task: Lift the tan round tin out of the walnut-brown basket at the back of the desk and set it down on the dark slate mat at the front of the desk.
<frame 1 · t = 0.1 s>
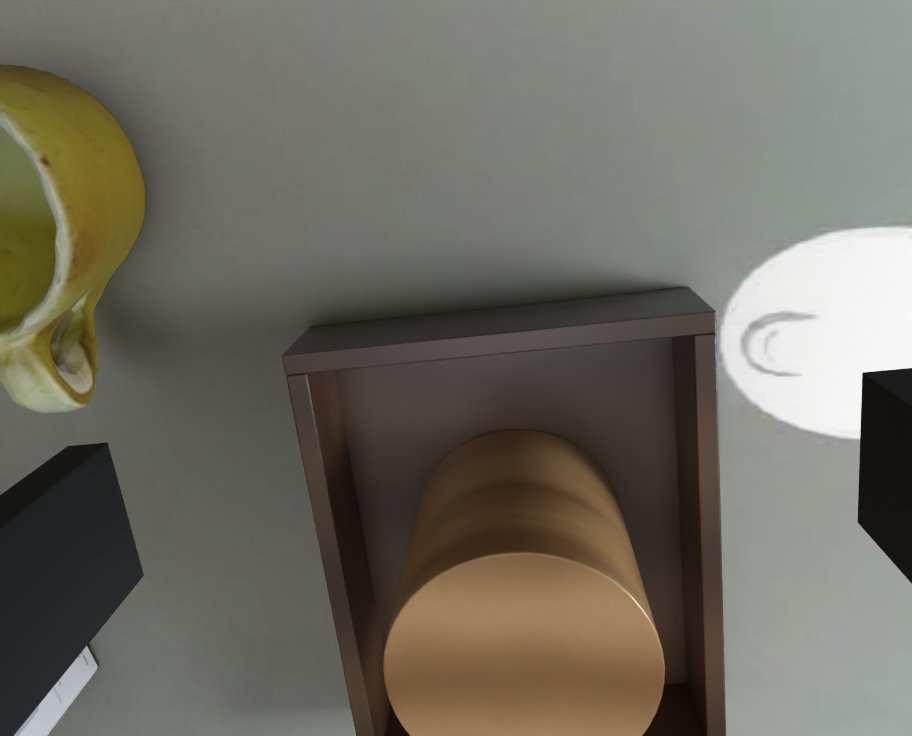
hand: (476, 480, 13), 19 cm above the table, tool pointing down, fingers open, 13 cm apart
ink box: (9, 647, 39), on the table
tan round tin: (518, 523, 34), resting on basket
mug: (73, 226, 32), on the table
basket: (518, 519, 35), on the table
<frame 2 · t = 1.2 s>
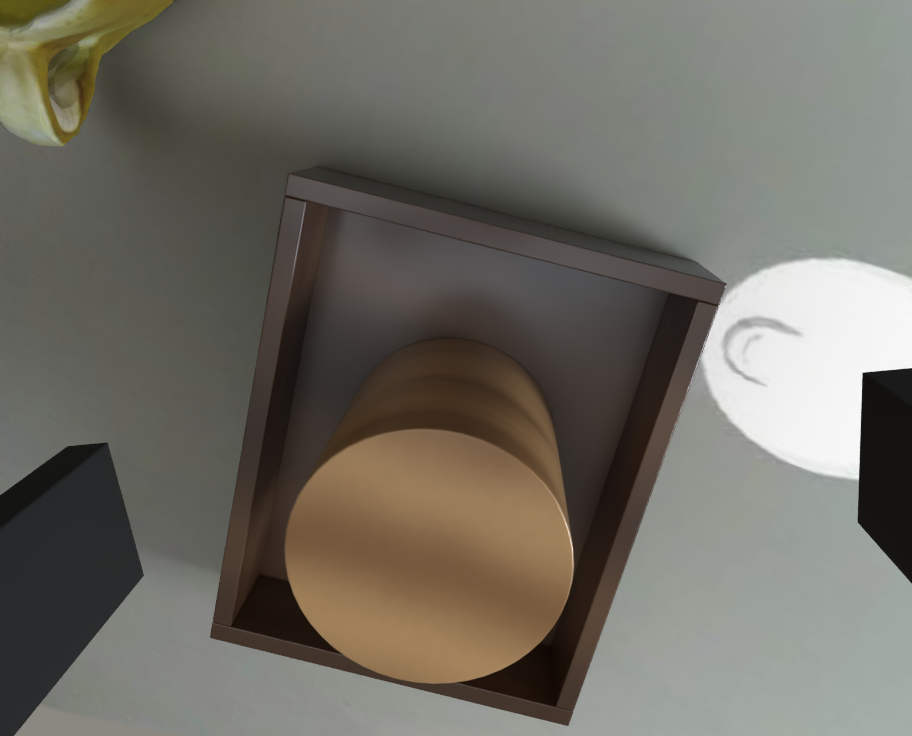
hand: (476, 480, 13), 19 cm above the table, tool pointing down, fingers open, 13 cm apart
tan round tin: (450, 438, 33), resting on basket
basket: (450, 435, 34), on the table
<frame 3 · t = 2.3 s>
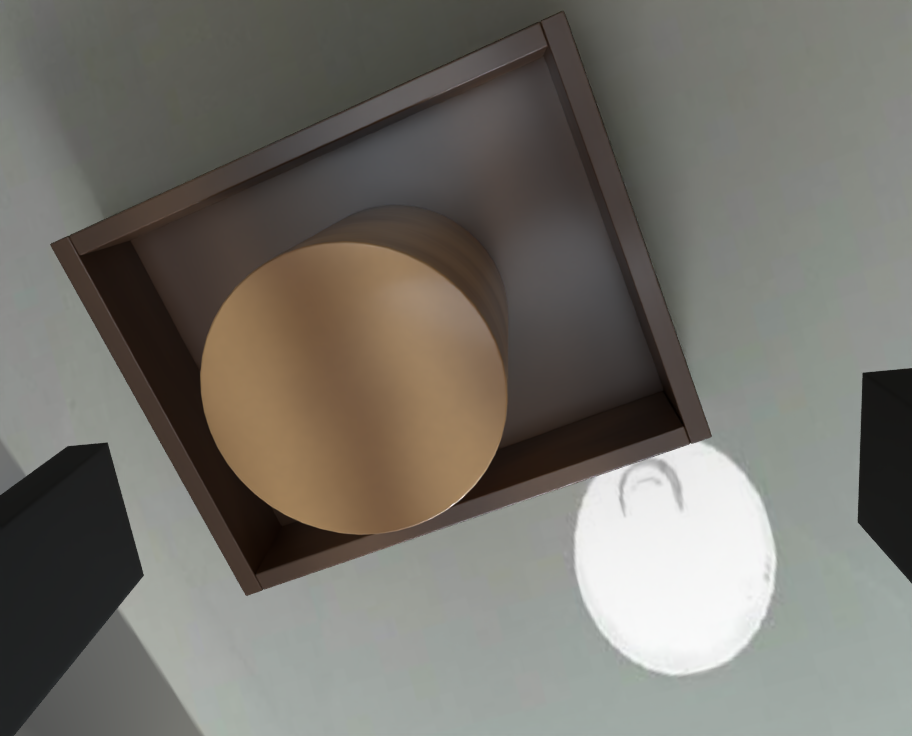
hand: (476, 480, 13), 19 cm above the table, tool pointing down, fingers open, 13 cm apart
tan round tin: (399, 315, 32), resting on basket
basket: (400, 314, 32), on the table
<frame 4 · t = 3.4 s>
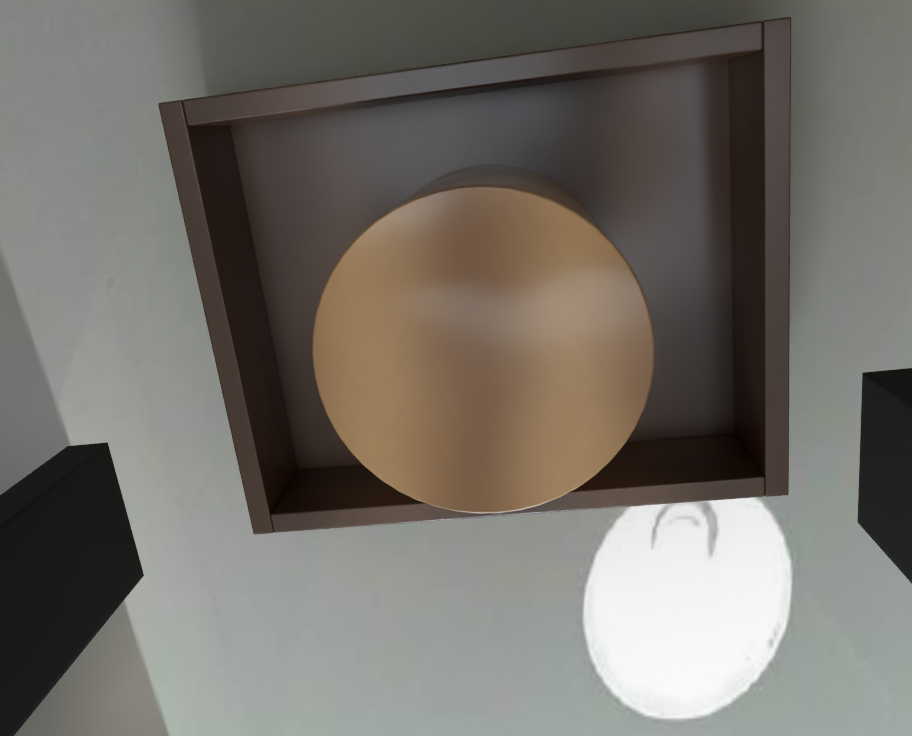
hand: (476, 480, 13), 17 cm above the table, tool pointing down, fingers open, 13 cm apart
tan round tin: (491, 285, 30), resting on basket
basket: (491, 283, 30), on the table
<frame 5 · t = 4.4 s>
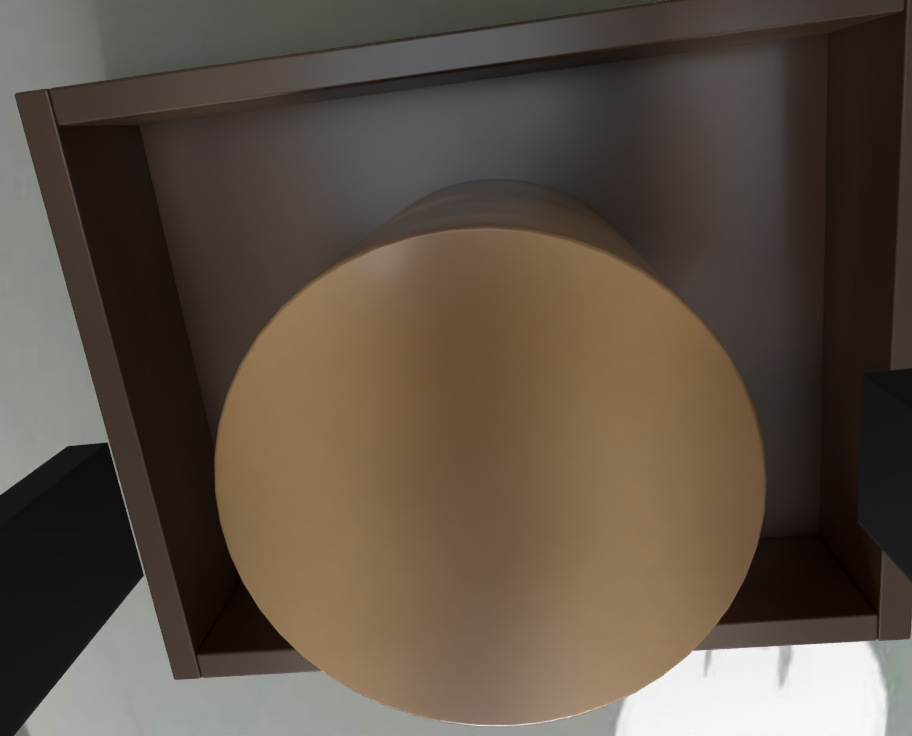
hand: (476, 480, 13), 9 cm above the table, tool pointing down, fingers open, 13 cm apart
tan round tin: (496, 340, 22), resting on basket
basket: (496, 337, 22), on the table
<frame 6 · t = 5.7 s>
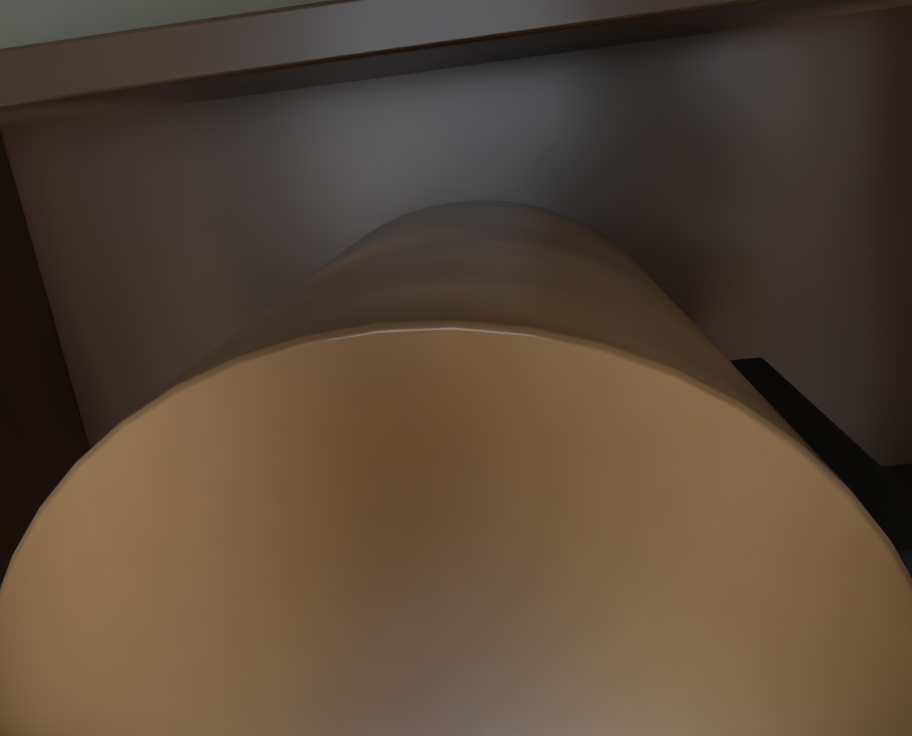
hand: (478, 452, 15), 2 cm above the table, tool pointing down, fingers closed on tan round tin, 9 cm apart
tan round tin: (482, 411, 17), resting on basket, touching gripper
basket: (482, 407, 17), on the table
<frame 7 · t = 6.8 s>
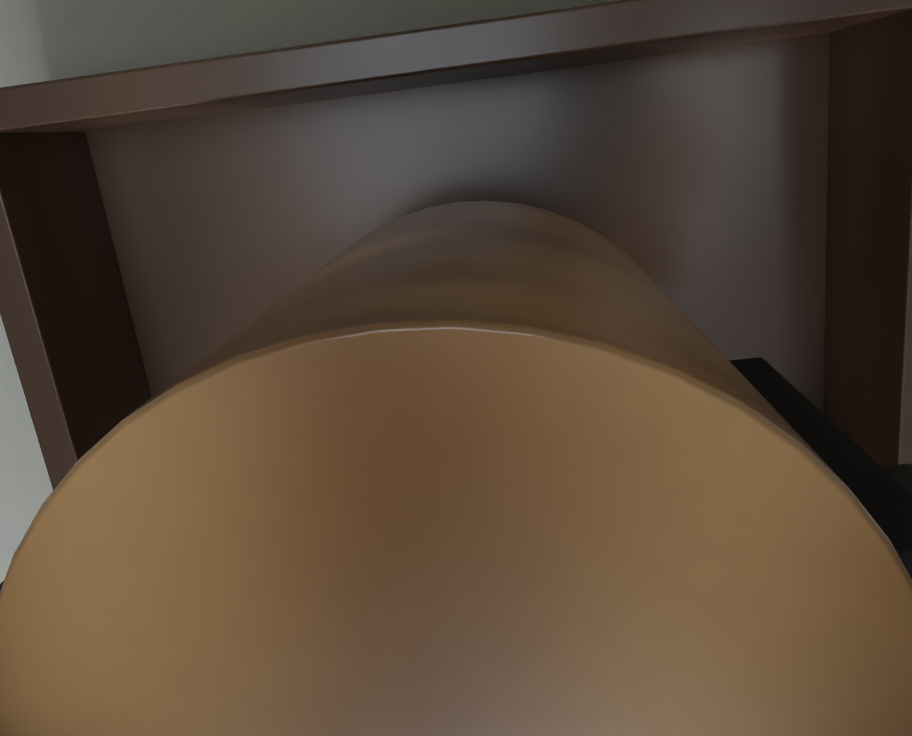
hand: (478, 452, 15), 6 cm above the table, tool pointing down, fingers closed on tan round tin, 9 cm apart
tan round tin: (482, 411, 17), point 4 cm above the table, touching gripper
basket: (475, 359, 21), on the table
when the fingers open (3 cm above the table, at t = 14.2 s): tan round tin stays where it is, resting on mat.
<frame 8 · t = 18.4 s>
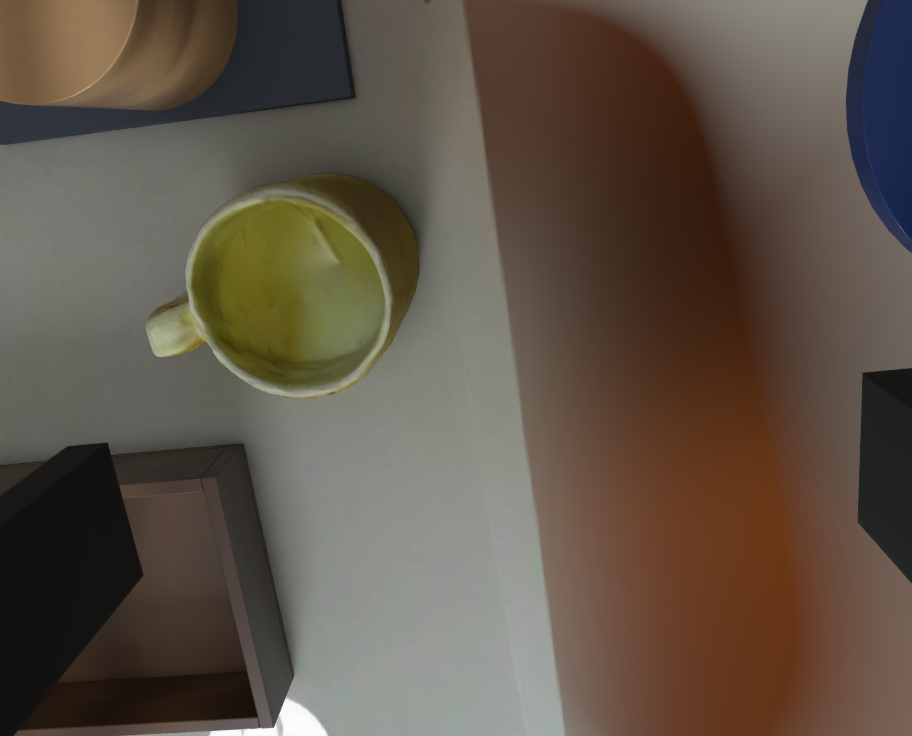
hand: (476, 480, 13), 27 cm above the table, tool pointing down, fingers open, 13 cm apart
tan round tin: (142, 7, 36), point 1 cm above the table, touching mat
mug: (305, 269, 40), on the table
basket: (111, 577, 46), on the table
mat: (153, 11, 37), on the table
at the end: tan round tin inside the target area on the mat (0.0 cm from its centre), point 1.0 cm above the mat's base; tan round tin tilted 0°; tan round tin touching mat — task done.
